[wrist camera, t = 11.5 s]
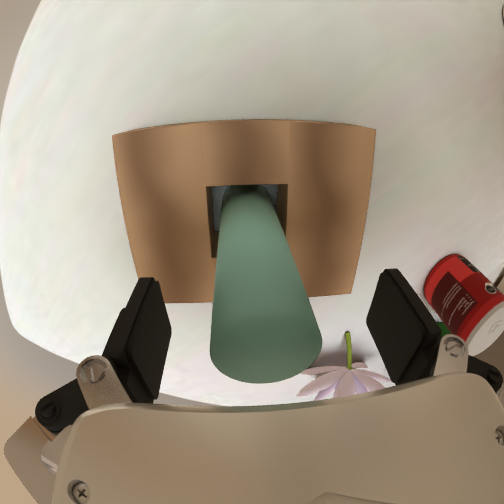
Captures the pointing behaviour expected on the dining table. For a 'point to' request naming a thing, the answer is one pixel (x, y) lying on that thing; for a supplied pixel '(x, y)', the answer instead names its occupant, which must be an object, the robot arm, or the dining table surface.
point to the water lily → (342, 378)
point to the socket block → (244, 173)
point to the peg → (258, 295)
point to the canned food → (466, 302)
